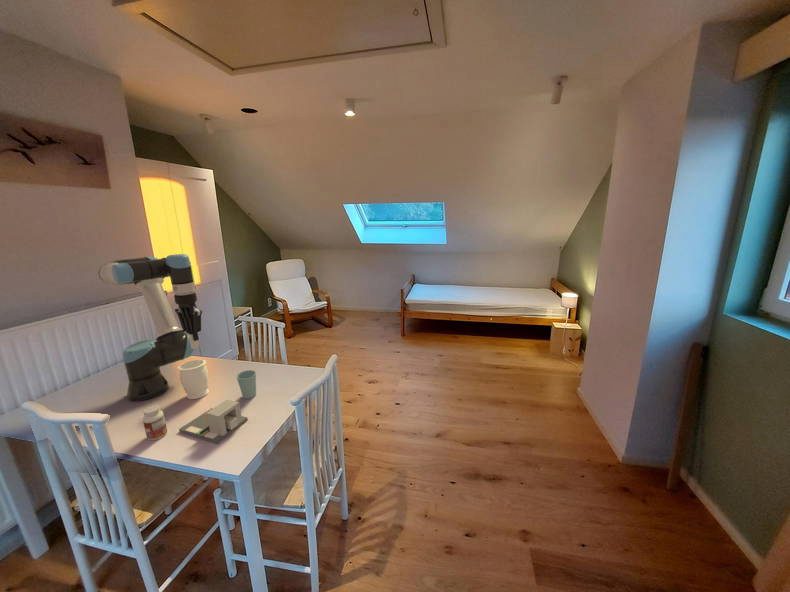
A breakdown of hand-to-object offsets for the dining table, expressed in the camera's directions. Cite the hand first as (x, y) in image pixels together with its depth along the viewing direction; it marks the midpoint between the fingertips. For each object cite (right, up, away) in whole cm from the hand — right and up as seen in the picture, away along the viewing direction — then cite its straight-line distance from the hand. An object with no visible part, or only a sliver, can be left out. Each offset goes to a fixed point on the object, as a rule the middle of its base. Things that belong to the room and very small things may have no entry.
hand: (195, 347), depth 136 cm
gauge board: (+15, -28, -12) cm, 34 cm away
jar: (-5, -23, +9) cm, 25 cm away
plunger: (+20, -27, -17) cm, 38 cm away
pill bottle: (-3, -30, -17) cm, 35 cm away
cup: (+19, -23, +8) cm, 31 cm away
